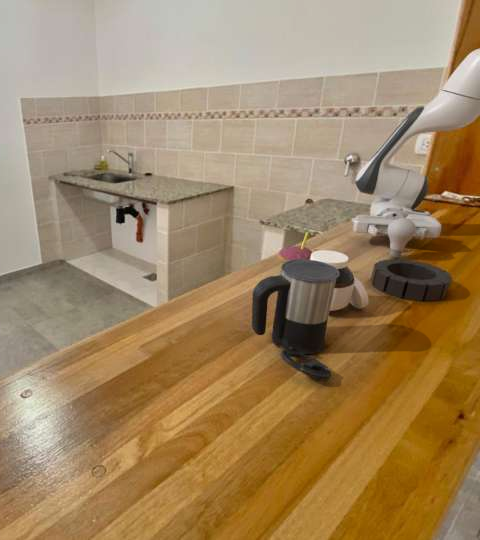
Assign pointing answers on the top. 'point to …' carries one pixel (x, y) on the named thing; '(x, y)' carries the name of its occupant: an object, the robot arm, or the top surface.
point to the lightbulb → (400, 235)
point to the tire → (411, 280)
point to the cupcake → (295, 252)
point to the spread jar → (342, 282)
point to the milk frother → (298, 311)
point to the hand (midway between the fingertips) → (398, 235)
